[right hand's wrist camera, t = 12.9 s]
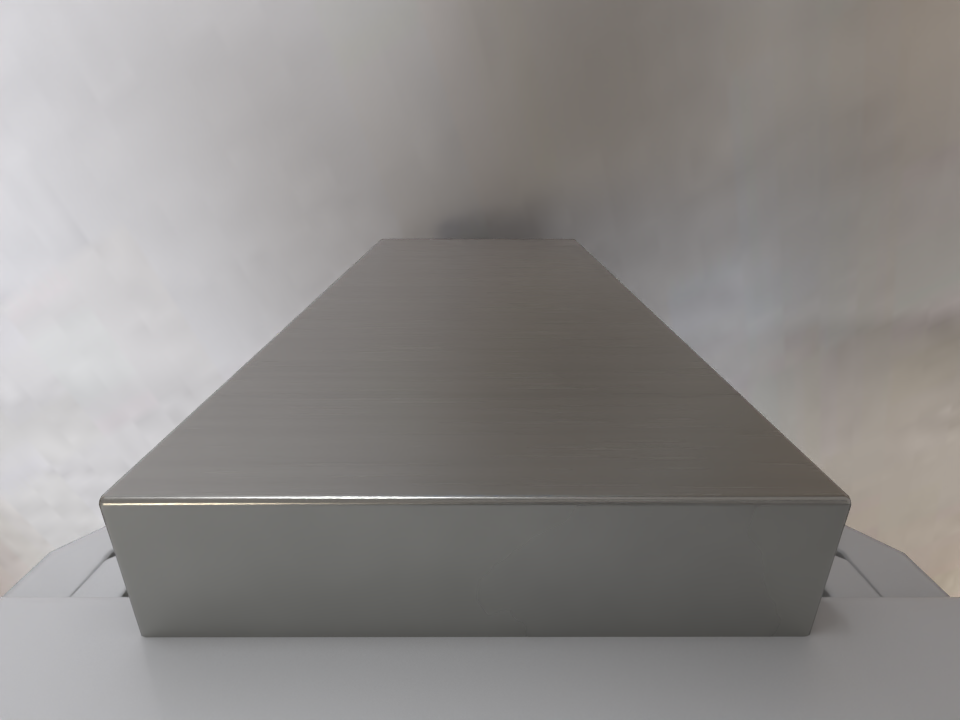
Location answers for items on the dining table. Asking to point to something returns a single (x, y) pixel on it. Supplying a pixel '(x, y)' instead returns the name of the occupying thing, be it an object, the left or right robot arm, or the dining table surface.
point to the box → (475, 470)
